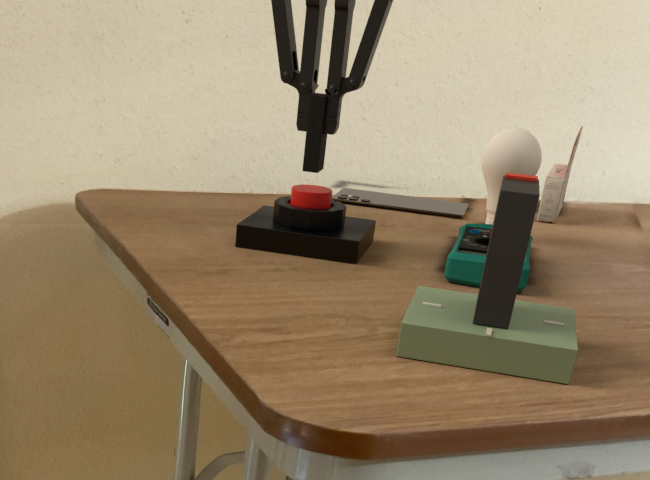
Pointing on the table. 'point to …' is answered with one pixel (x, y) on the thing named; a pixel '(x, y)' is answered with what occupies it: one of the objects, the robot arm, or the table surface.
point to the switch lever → (507, 249)
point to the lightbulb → (508, 162)
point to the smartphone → (401, 202)
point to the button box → (306, 232)
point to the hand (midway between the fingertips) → (313, 169)
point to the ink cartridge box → (555, 188)
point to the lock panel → (489, 336)
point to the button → (311, 196)
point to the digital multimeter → (475, 256)
